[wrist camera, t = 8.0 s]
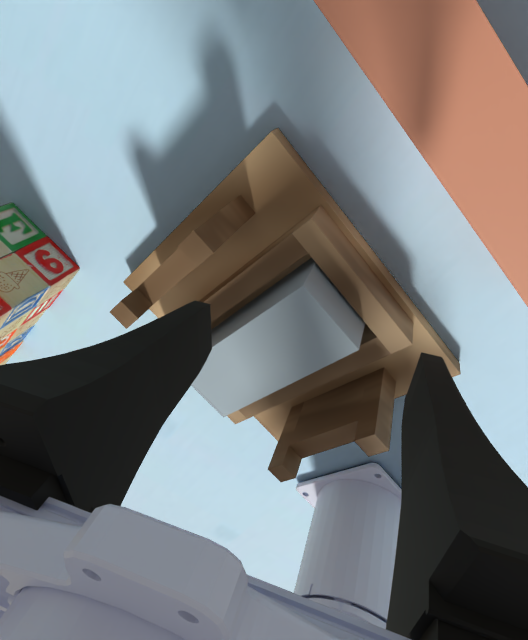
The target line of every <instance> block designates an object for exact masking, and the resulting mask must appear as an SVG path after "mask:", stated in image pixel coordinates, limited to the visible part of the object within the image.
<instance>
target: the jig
mask: <svg viewBox="0 0 528 640" xmlns="http://www.w3.org/2000/svg"><path fill="white" fill-rule="evenodd" d="M310 258H313V260H314V261H315V262H316V263H317V264H318V266H319V267H320V268H321V269H322V271H323V272H324V273H325V274H326V275H327V277H328V278H329V279H330V280H331V282H332V283H333V284H334V285H335V286H336V288H337V289H338V290H339V291H340V292H341V294H342V295H343V296H344V297H345V299H346V300H347V301H348V302H349V303H350V305H351V306H352V307H353V308H354V310H355V311H356V312H357V313H358V314H359V316H360V317H361V318H362V319H363V321H364V322H365V326H364V331H363V335H362V339H361V343H360V348H359V350H358V351H356V352H354V353H352V354H350V355H348V356H346V357H344V358H342V359H340V360H338V361H336V362H334V363H332V364H330V365H328V366H326V367H324V368H322V369H320V370H318V371H316V372H314V373H312V374H310V375H308V376H306V377H304V378H302V379H300V380H298V381H296V382H294V383H292V384H289V385H287V386H285V387H283V388H281V389H279V390H277V391H275V392H273V393H271V394H269V395H267V396H265V397H263V398H261V399H259V400H257V401H255V402H253V403H251V404H249V405H247V406H245V407H243V408H241V409H239V410H237V411H235V412H233V413H231V414H229V415H227V416H228V417H229V418H230V419H231V420H232V421H233V422H234V423H235V424H237V423H239V422H241V421H243V420H246V419H248V418H250V417H252V416H254V417H255V418H256V419H257V420H258V421H259V422H260V423H261V424H262V425H263V426H264V427H265V428H266V429H267V430H268V431H269V432H270V433H271V434H272V435H273V436H274V437H275V439H276V440H277V441H278V444H277V446H276V449H275V452H274V454H273V457H272V459H271V462H270V465H269V467H268V470H269V471H270V472H271V473H272V474H273V475H274V476H275V477H276V478H277V479H278V480H279V481H280V482H283V481H287V480H290V479H294V478H296V475H297V472H298V469H299V466H300V463H301V459H302V458H305V457H308V456H311V455H314V454H317V453H320V452H323V451H326V450H329V449H332V448H335V447H338V446H342V445H345V444H348V443H351V442H354V441H355V442H356V443H357V444H358V446H359V447H360V448H361V449H362V450H363V451H364V452H365V453H366V454H367V455H368V457H369V456H372V455H376V454H379V453H383V452H386V451H389V448H390V438H391V428H392V417H393V407H394V399H395V398H398V397H401V396H403V395H406V394H407V392H408V389H409V386H410V383H411V380H412V378H413V375H414V372H415V369H416V366H417V363H418V360H419V357H420V355H421V352H422V353H427V354H431V355H435V356H440V357H442V358H443V359H444V361H445V363H446V366H447V368H448V370H449V372H450V374H451V376H452V377H454V376H457V375H459V374H461V373H460V363H459V362H458V360H457V359H456V358H455V356H454V355H453V354H452V353H451V351H450V350H449V349H448V347H447V346H446V345H445V344H444V342H443V341H442V340H441V338H440V337H439V336H438V334H437V333H436V332H435V331H434V329H433V328H432V327H431V325H430V324H429V323H428V321H427V320H426V319H425V318H424V316H423V315H422V314H421V312H420V311H419V310H418V309H417V307H416V306H415V305H414V303H413V302H412V301H411V299H410V298H409V297H408V296H407V294H406V293H405V292H404V290H403V289H402V288H401V287H400V285H399V284H398V283H397V281H396V280H395V279H394V277H393V276H392V275H391V274H390V272H389V271H388V270H387V268H386V267H385V266H384V265H383V263H382V262H381V261H380V259H379V258H378V257H377V255H376V254H375V253H374V252H373V250H372V249H371V248H370V246H369V245H368V244H367V242H366V241H365V240H364V239H363V237H362V236H361V235H360V233H359V232H358V231H357V230H356V228H355V227H354V226H353V224H352V223H351V222H350V220H349V219H348V218H347V217H346V215H345V214H344V213H343V211H342V210H341V209H340V208H339V206H338V205H337V204H336V202H335V201H334V200H333V198H332V197H331V196H330V195H329V193H328V192H327V191H326V189H325V188H324V187H323V186H322V184H321V183H320V182H319V180H318V179H317V178H316V176H315V175H314V174H313V173H312V171H311V170H310V169H309V167H308V166H307V165H306V163H305V162H304V161H303V160H302V158H301V157H300V156H299V154H298V153H297V152H296V151H295V149H294V148H293V147H292V145H291V144H290V143H289V141H288V140H287V139H286V138H285V136H284V135H283V134H282V132H281V131H280V130H279V129H278V128H277V129H275V130H273V131H271V132H270V133H269V134H268V135H267V136H266V137H265V138H264V139H263V140H262V141H261V142H260V143H259V144H258V145H257V146H256V147H255V148H254V149H253V150H252V151H251V152H250V153H249V155H248V156H247V157H246V158H245V159H244V160H243V161H242V162H241V163H240V164H239V165H238V166H237V167H236V168H235V169H234V170H233V171H232V172H231V173H230V174H229V175H228V176H227V177H226V178H225V179H224V180H223V181H222V182H221V183H220V184H219V185H218V186H217V187H216V188H215V189H214V190H213V191H212V192H211V193H210V194H209V195H208V196H207V197H206V198H205V199H204V200H203V201H202V202H201V203H200V204H199V205H198V206H197V207H196V208H195V209H194V210H193V211H192V212H191V213H190V214H189V216H188V217H187V218H186V219H185V220H184V221H183V222H182V223H181V224H180V225H179V226H178V227H177V228H176V229H175V230H174V231H173V232H172V233H171V234H170V235H169V236H168V237H167V238H166V239H165V240H164V241H163V242H162V243H161V244H160V245H159V246H158V247H157V248H156V249H155V250H154V251H153V252H152V253H151V254H150V255H149V256H148V257H147V258H146V259H145V260H144V261H143V262H142V263H141V264H140V265H139V266H138V267H137V268H136V269H135V270H134V271H133V272H132V273H131V274H130V276H129V277H128V278H127V279H126V280H125V281H124V283H125V285H126V286H127V287H128V288H129V289H130V290H131V291H132V292H131V293H130V294H129V295H128V296H126V297H125V298H124V299H123V300H122V301H120V302H119V303H118V304H117V305H116V306H115V307H114V308H113V309H112V310H111V311H110V313H111V314H112V315H113V316H114V317H115V318H116V319H117V320H118V321H119V322H120V323H121V324H122V325H123V326H124V327H125V328H126V329H127V328H128V327H129V326H130V325H131V324H132V323H134V322H135V321H136V320H137V319H138V318H139V317H140V316H141V315H143V314H144V313H145V312H146V311H147V310H148V309H150V310H151V311H152V312H153V313H154V314H155V315H156V316H157V317H158V318H160V317H162V316H164V315H166V314H168V313H170V312H172V311H174V310H176V309H178V308H180V307H182V306H184V305H186V304H188V303H190V302H193V301H199V302H203V303H208V304H210V309H211V330H212V329H213V328H215V327H216V326H217V325H219V324H220V323H221V322H223V321H224V320H226V319H227V318H228V317H230V316H231V315H233V314H234V313H235V312H237V311H238V310H240V309H241V308H242V307H244V306H245V305H246V304H248V303H249V302H251V301H252V300H253V299H255V298H256V297H258V296H259V295H260V294H262V293H263V292H264V291H266V290H267V289H269V288H270V287H271V286H273V285H274V284H276V283H277V282H278V281H280V280H281V279H283V278H284V277H285V276H287V275H288V274H289V273H291V272H292V271H294V270H295V269H296V268H298V267H299V266H301V265H302V264H303V263H305V262H306V261H308V260H309V259H310Z"/></svg>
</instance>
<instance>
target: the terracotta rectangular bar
mask: <svg viewBox="0 0 528 640" xmlns="http://www.w3.org/2000/svg"><path fill="white" fill-rule="evenodd" d="M314 2H315V3H316V5H317V6H318V7H319V9H320V10H321V12H322V13H323V15H324V16H325V17H326V19H327V20H328V22H329V23H330V25H331V26H332V27H333V29H334V30H335V32H336V33H337V35H338V36H339V37H340V39H341V40H342V42H343V43H344V45H345V46H346V47H347V49H348V50H349V52H350V53H351V55H352V56H353V57H354V59H355V60H356V62H357V63H358V65H359V66H360V67H361V69H362V70H363V72H364V73H365V75H366V76H367V78H368V79H369V80H370V82H371V83H372V85H373V86H374V88H375V89H376V90H377V92H378V93H379V95H380V96H381V98H382V99H383V100H384V102H385V103H386V105H387V106H388V108H389V109H390V110H391V112H392V113H393V115H394V116H395V118H396V119H397V120H398V122H399V123H400V125H401V126H402V128H403V129H404V130H405V132H406V133H407V135H408V136H409V138H410V139H411V140H412V142H413V143H414V145H415V146H416V148H417V149H418V150H419V152H420V153H421V155H422V156H423V158H424V159H425V161H426V162H427V163H428V165H429V166H430V168H431V169H432V171H433V172H434V173H435V175H436V176H437V178H438V179H439V181H440V182H441V183H442V185H443V186H444V188H445V189H446V191H447V192H448V193H449V195H450V196H451V198H452V199H453V201H454V202H455V203H456V205H457V206H458V208H459V209H460V211H461V212H462V213H463V215H464V216H465V218H466V219H467V221H468V222H469V223H470V225H471V226H472V228H473V229H474V231H475V232H476V234H477V235H478V236H479V238H480V239H481V241H482V242H483V244H484V245H485V246H486V248H487V249H488V251H489V252H490V254H491V255H492V256H493V258H494V259H495V261H496V262H497V264H498V265H499V266H500V268H501V269H502V271H503V272H504V274H505V275H506V276H507V278H508V279H509V281H510V282H511V284H512V285H513V286H514V288H515V289H516V291H517V292H518V294H519V295H520V296H521V298H522V299H523V301H524V302H525V304H526V305H527V307H528V86H527V84H526V83H525V81H524V79H523V78H522V76H521V74H520V73H519V71H518V69H517V68H516V66H515V64H514V63H513V61H512V59H511V58H510V56H509V54H508V53H507V51H506V49H505V48H504V46H503V44H502V43H501V41H500V39H499V38H498V36H497V34H496V33H495V31H494V29H493V28H492V26H491V24H490V23H489V21H488V19H487V18H486V16H485V14H484V13H483V11H482V9H481V8H480V6H479V4H478V3H477V1H476V0H314Z"/></svg>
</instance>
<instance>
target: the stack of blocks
mask: <svg viewBox="0 0 528 640" xmlns="http://www.w3.org/2000/svg"><path fill="white" fill-rule="evenodd" d="M79 269H80V268H79V266H78V265H77V264H75V263H74V262H73V261H72V260H71V259H70V258H69V257H68V256H67V255H66V254H65V253H64V252H63V251H62V250H61V249H60V248H59V247H58V246H57V245H56V244H55V243H54V242H53V241H52V240H51V239H50V238H49V237H48V236H46V235H45V234H44V233H43V232H42V231H41V230H40V229H39V228H38V227H37V226H36V225H35V224H34V223H33V222H32V221H31V220H30V219H29V218H28V217H27V216H26V215H25V214H24V213H23V212H22V211H21V210H20V209H19V208H18V207H17V206H16V205H15V204H14V203H9V204H6V205H3V206H0V365H4V364H6V362H7V361H8V360H9V359H10V357H11V356H12V354H13V353H14V352H15V351H16V350H17V348H18V347H19V346H20V345H21V343H22V342H23V339H24V338H25V337H26V335H27V334H28V333H29V332H30V330H31V329H32V328H33V327H34V325H35V323H36V322H37V321H38V320H39V318H40V317H41V316H42V315H43V313H44V312H45V311H46V309H47V308H49V307H50V306H51V304H52V303H53V302H54V301H55V299H56V298H57V297H58V296H59V294H60V293H61V292H62V290H63V289H64V288H65V287H66V286H67V285H68V284H69V282H70V281H71V280H72V279H73V277H74V276H75V275H76V273H77V272H78V271H79Z"/></svg>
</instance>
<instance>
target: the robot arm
mask: <svg viewBox="0 0 528 640" xmlns="http://www.w3.org/2000/svg"><path fill="white" fill-rule="evenodd" d="M211 350H212V335H211V309H210V304H208V303H203V302H199V301H193V302H190V303H188V304H186V305H184V306H182V307H180V308H178V309H176V310H174V311H172V312H170V313H168V314H166V315H164V316H162V317H160V318H158V319H156V320H154V321H152V322H150V323H148V324H146V325H143V326H141V327H139V328H137V329H135V330H132V331H130V332H128V333H126V334H123V335H121V336H118V337H116V338H113V339H111V340H108V341H105V342H102V343H99V344H96V345H93V346H90V347H86V348H83V349H79V350H76V351H72V352H68V353H65V354H61V355H56V356H52V357H47V358H42V359H37V360H32V361H26V362H19V363H11V364H4V365H0V640H528V487H527V486H526V485H525V484H524V483H523V482H522V480H521V479H520V478H519V477H518V476H517V475H516V474H515V473H514V472H513V470H512V469H511V468H510V467H509V466H508V464H507V463H506V462H505V461H504V460H503V458H502V457H501V456H500V454H499V453H498V452H497V451H496V449H495V448H494V447H493V445H492V444H491V443H490V441H489V440H488V438H487V437H486V435H485V434H484V433H483V431H482V429H481V428H480V426H479V425H478V423H477V422H476V420H475V419H474V417H473V415H472V414H471V412H470V410H469V408H468V407H467V405H466V403H465V401H464V400H463V398H462V396H461V394H460V392H459V390H458V388H457V386H456V384H455V382H454V380H453V378H452V376H451V374H450V372H449V370H448V368H447V366H446V363H445V361H444V359H443V358H442V357H440V356H435V355H431V354H427V353H422V352H421V355H420V357H419V360H418V363H417V366H416V369H415V372H414V375H413V378H412V380H411V383H410V386H409V389H408V392H407V395H406V398H405V403H404V411H403V419H402V489H401V488H400V487H399V486H398V485H397V484H396V483H395V482H394V481H393V480H392V478H391V477H390V476H389V475H388V474H387V473H386V472H385V471H384V470H383V469H382V467H381V466H380V465H378V464H376V463H369V464H365V465H362V466H358V467H355V468H351V469H347V470H344V471H340V472H337V473H333V474H330V475H326V476H322V477H319V478H315V479H312V480H308V481H305V482H301V483H298V484H297V487H296V490H297V491H298V492H299V493H300V494H301V495H302V496H303V497H304V498H305V499H306V500H307V501H308V502H309V503H310V504H311V505H312V506H313V507H314V508H315V509H314V513H313V517H312V521H311V525H310V529H309V533H308V537H307V541H306V545H305V549H304V553H303V557H302V561H301V565H300V570H299V574H298V578H297V582H296V586H295V590H294V593H292V592H290V591H287V590H285V589H282V588H280V587H277V586H274V585H272V584H269V583H267V582H264V581H262V580H259V579H257V578H254V577H252V576H249V575H247V574H246V572H245V570H244V568H243V565H242V563H241V561H240V560H239V559H238V558H237V557H236V556H235V555H234V554H232V553H231V552H230V551H229V550H228V549H227V548H225V547H223V546H221V545H219V544H217V543H215V542H213V541H211V540H209V539H207V538H204V537H202V536H199V535H197V534H194V533H191V532H189V531H186V530H183V529H181V528H178V527H176V526H173V525H170V524H168V523H165V522H162V521H160V520H157V519H155V518H152V517H149V516H147V515H144V514H141V513H139V512H136V511H134V510H131V509H128V508H126V507H121V503H122V501H123V499H124V497H125V495H126V493H127V491H128V489H129V487H130V485H131V483H132V481H133V479H134V477H135V475H136V473H137V471H138V469H139V467H140V465H141V463H142V461H143V459H144V458H145V456H146V454H147V452H148V450H149V448H150V446H151V445H152V443H153V441H154V439H155V438H156V436H157V434H158V432H159V430H160V429H161V427H162V425H163V424H164V422H165V421H166V419H167V418H168V416H169V415H170V414H171V412H172V411H173V409H174V408H175V407H176V405H177V404H178V402H179V401H180V400H181V398H182V397H183V396H184V394H185V393H186V391H187V390H188V389H189V387H190V386H191V384H192V383H193V382H194V380H195V379H196V377H197V376H198V374H199V373H200V371H201V370H202V368H203V366H204V364H205V362H206V360H207V358H208V356H209V354H210V352H211ZM377 473H378V474H377Z"/></svg>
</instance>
